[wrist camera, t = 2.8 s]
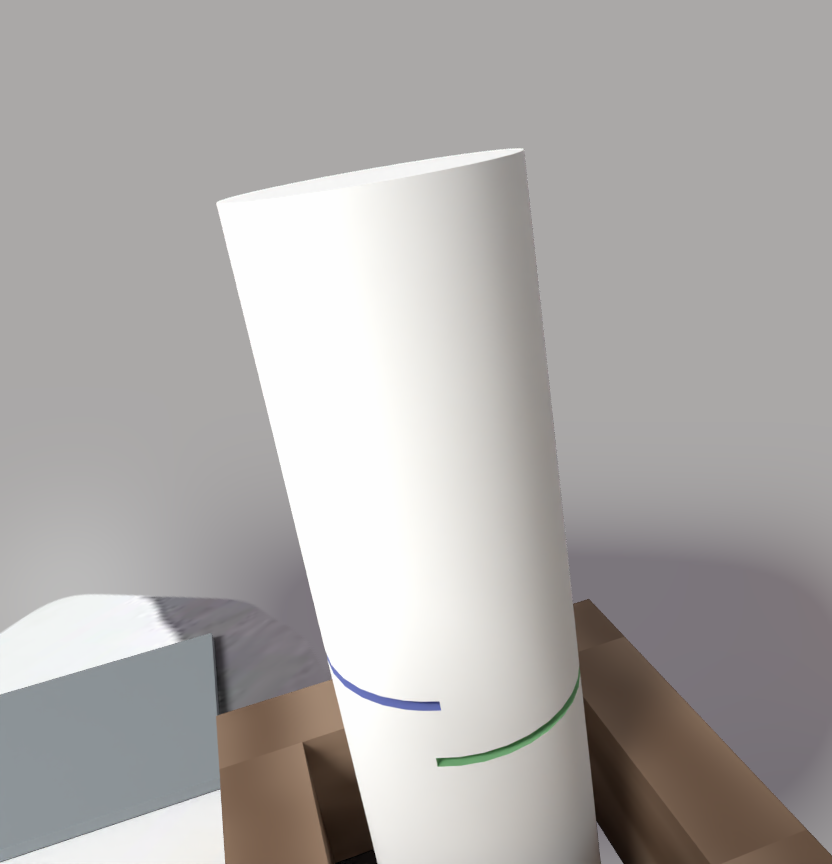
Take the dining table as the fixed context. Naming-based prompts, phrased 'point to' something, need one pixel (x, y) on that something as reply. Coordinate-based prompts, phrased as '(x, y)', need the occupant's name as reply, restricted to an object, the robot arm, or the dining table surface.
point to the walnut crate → (609, 761)
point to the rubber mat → (107, 745)
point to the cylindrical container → (427, 496)
